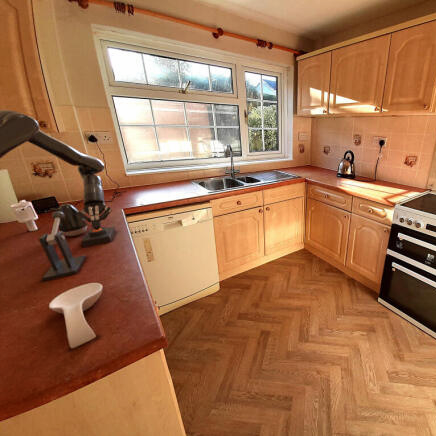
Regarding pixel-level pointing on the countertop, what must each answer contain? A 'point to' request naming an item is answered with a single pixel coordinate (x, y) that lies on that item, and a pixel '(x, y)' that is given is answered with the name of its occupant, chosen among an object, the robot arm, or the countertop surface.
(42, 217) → the countertop surface
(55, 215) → the lever
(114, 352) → the countertop surface
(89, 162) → the robot arm
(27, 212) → the white stemmed block
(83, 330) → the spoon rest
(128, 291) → the countertop surface
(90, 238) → the grey control base
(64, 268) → the lever bracket
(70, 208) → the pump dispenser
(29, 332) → the countertop surface
